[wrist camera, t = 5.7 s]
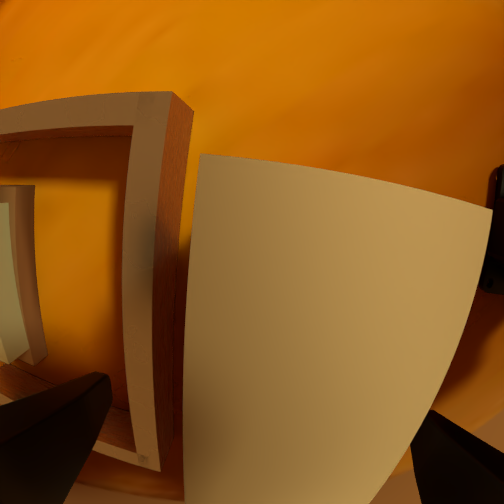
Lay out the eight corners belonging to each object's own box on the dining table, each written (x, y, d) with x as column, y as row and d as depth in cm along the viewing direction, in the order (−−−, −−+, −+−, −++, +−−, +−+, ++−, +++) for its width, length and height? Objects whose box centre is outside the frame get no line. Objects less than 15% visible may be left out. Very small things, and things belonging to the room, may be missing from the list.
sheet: (328, 189, 12) (492, 209, 2) (281, 421, 15) (282, 590, 5) (255, 178, 12) (199, 153, 3) (226, 414, 15) (191, 582, 5)
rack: (194, 111, 12) (172, 91, 9) (174, 436, 15) (160, 471, 13) (-7, 124, 12) (-41, 121, 9) (10, 375, 16) (-13, 395, 13)
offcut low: (40, 184, 13) (15, 186, 11) (52, 351, 15) (34, 366, 14) (-2, 184, 13) (-25, 186, 12) (11, 335, 16) (-7, 347, 14)
